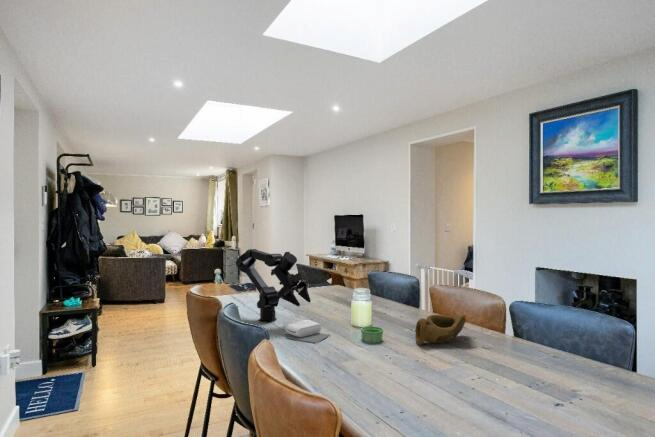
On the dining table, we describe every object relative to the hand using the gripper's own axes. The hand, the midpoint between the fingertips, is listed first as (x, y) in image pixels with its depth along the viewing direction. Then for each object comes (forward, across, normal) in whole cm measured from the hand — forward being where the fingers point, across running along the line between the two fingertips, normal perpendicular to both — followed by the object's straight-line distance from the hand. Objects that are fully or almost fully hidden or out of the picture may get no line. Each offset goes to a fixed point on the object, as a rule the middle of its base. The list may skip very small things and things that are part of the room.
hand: (304, 303), depth 175 cm
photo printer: (+10, -4, +1) cm, 11 cm away
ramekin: (+30, -2, -16) cm, 34 cm away
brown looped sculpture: (+48, +10, -34) cm, 60 cm away
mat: (+14, -11, +1) cm, 18 cm away
